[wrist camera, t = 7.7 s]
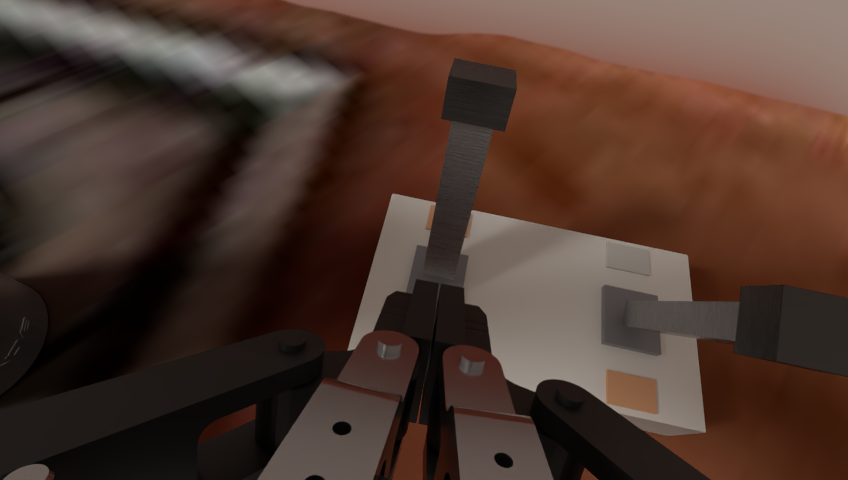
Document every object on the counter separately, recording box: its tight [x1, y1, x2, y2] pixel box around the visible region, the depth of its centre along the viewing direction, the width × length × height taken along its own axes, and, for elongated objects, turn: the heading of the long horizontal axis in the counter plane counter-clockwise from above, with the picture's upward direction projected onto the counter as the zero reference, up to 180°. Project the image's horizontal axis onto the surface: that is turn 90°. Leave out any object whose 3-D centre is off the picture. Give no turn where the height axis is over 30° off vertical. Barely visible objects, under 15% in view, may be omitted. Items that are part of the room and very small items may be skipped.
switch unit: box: [347, 193, 706, 436], centre depth 30 cm, size 22×12×4 cm, turn 79°
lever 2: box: [622, 285, 848, 377], centre depth 21 cm, size 3×3×12 cm
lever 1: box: [423, 58, 517, 280], centre depth 23 cm, size 3×3×12 cm
